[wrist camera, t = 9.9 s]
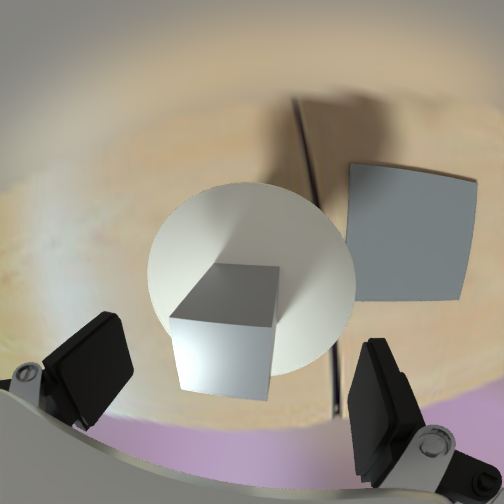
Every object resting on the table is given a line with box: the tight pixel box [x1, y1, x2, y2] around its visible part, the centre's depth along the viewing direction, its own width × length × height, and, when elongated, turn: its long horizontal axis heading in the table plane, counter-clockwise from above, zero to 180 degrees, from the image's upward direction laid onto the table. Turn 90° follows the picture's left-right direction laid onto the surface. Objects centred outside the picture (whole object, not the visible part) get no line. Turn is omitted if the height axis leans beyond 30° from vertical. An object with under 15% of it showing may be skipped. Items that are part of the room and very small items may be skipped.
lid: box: [147, 182, 356, 401], centre depth 12 cm, size 12×12×7 cm
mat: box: [345, 163, 478, 301], centre depth 25 cm, size 16×14×1 cm
